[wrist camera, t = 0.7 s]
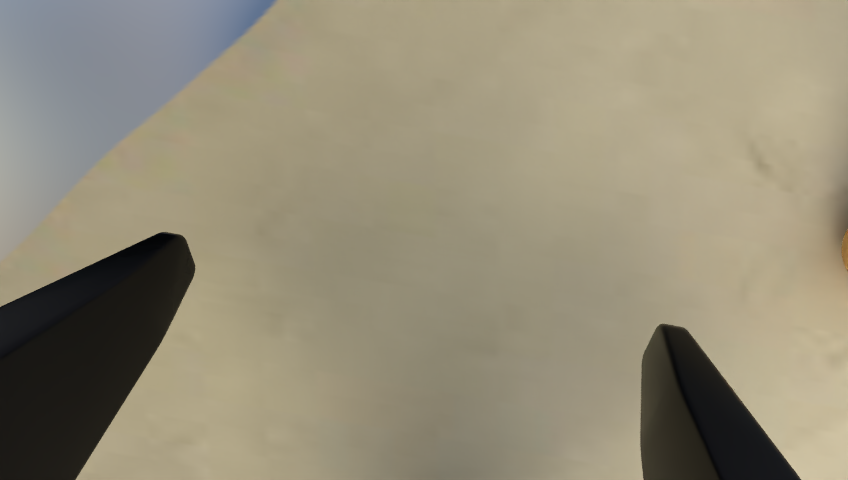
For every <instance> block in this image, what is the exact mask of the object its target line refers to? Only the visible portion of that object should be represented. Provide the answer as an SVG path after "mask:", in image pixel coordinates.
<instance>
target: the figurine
mask: <svg viewBox="0 0 848 480" xmlns="http://www.w3.org/2000/svg"><path fill="white" fill-rule="evenodd" d="M842 258H843V262H844V264H845V267H846V269H847V271H848V229H847V231H846V233H845V235H844V238H843V242H842Z"/></svg>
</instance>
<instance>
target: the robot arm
mask: <svg viewBox="0 0 848 480" xmlns="http://www.w3.org/2000/svg"><path fill="white" fill-rule="evenodd" d="M194 273H195V264H194V261H193V258H192V255H191V252H190V249H189V247H188V244H187V241H186V239H185V238H184V237H183V236H182V235H179V234H174V233H168V232H161V233H158V234H156V235H154V236H152V237H150V238H147V239H145V240H143V241H141V242H139V243H137V244H135V245H132V246H130V247H128V248H126V249H124V250H122V251H120V252H117V253H115V254H113V255H111V256H109V257H107V258H104V259H102V260H100V261H98V262H96V263H94V264H92V265H89V266H87V267H85V268H83V269H81V270H79V271H77V272H74V273H72V274H70V275H68V276H66V277H64V278H62V279H59V280H57V281H55V282H53V283H51V284H49V285H46V286H44V287H42V288H40V289H38V290H36V291H34V292H31V293H29V294H27V295H25V296H23V297H21V298H19V299H16V300H14V301H12V302H10V303H8V304H6V305H4V306H1V307H0V480H76V478H77V476H78V475H79V473H80V472H81V470H82V468H83V467H84V465H85V464H86V462H87V460H88V459H89V457H90V456H91V454H92V452H93V451H94V449H95V448H96V446H97V444H98V443H99V441H100V440H101V438H102V436H103V435H104V433H105V432H106V430H107V428H108V427H109V425H110V424H111V422H112V420H113V419H114V417H115V416H116V414H117V412H118V411H119V409H120V408H121V406H122V404H123V403H124V401H125V400H126V398H127V396H128V395H129V393H130V392H131V390H132V388H133V387H134V385H135V384H136V382H137V380H138V379H139V377H140V376H141V374H142V372H143V371H144V369H145V368H146V366H147V364H148V363H149V361H150V360H151V358H152V356H153V355H154V353H155V352H156V350H157V348H158V347H159V345H160V343H161V342H162V340H163V338H164V336H165V334H166V332H167V330H168V328H169V326H170V324H171V322H172V320H173V318H174V316H175V314H176V312H177V310H178V308H179V306H180V304H181V301H182V299H183V297H184V295H185V293H186V291H187V289H188V287H189V285H190V283H191V281H192V279H193V276H194ZM640 445H641V459H642V469H643V478H644V480H801V479H800V477H799V476H798V475H797V473H796V472H795V471H794V470H793V468H792V467H791V466H790V464H789V463H788V462H787V460H786V459H785V458H784V456H783V455H782V454H781V452H780V451H779V450H778V449H777V447H776V446H775V445H774V443H773V442H772V441H771V439H770V438H769V437H768V435H767V434H766V433H765V431H764V430H763V429H762V428H761V426H760V425H759V424H758V422H757V421H756V420H755V418H754V417H753V416H752V414H751V413H750V412H749V410H748V409H747V408H746V406H745V405H744V404H743V403H742V401H741V400H740V399H739V397H738V396H737V395H736V393H735V392H734V391H733V389H732V388H731V387H730V385H729V384H728V383H727V382H726V380H725V379H724V378H723V376H722V375H721V374H720V372H719V371H718V370H717V368H716V367H715V366H714V364H713V363H712V362H711V361H710V359H709V358H708V357H707V355H706V354H705V353H704V351H703V350H702V349H701V347H700V346H699V345H698V343H697V342H696V341H695V340H694V338H693V337H692V336H691V334H690V333H689V332H688V331H687V330H686V329H685V328H683V327H679V326H673V325H668V324H660V325H659V326H658V327H657V328H656V330H655V332H654V334H653V336H652V338H651V340H650V342H649V344H648V346H647V348H646V350H645V352H644V355H643V359H642V378H641V430H640Z"/></svg>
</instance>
